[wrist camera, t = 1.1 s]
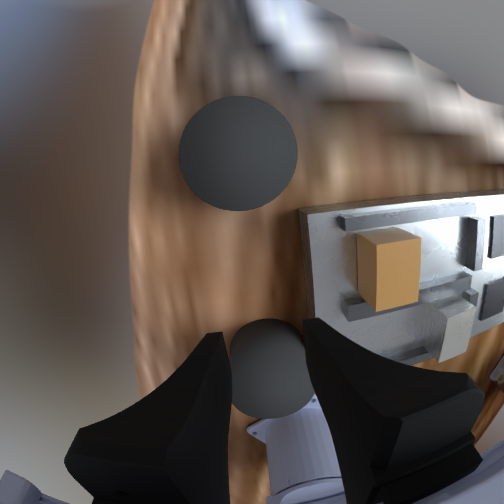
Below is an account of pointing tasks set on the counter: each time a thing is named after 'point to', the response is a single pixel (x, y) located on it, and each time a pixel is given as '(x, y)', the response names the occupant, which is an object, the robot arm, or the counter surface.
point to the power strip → (431, 272)
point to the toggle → (388, 267)
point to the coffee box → (498, 374)
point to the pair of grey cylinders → (241, 199)
